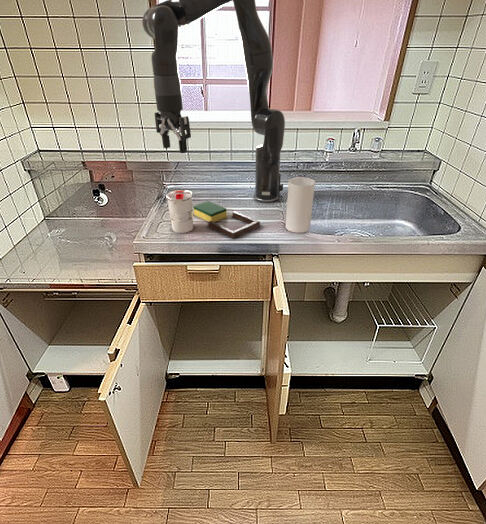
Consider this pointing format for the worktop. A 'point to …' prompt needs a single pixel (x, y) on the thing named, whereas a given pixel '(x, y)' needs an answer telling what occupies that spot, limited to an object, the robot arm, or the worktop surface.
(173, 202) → the white canister
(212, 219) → the sponge
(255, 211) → the worktop surface
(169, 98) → the robot arm
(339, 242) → the worktop surface
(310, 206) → the cup
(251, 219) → the sponge rack
